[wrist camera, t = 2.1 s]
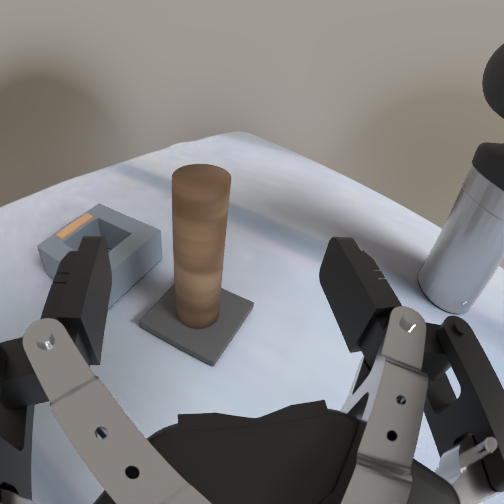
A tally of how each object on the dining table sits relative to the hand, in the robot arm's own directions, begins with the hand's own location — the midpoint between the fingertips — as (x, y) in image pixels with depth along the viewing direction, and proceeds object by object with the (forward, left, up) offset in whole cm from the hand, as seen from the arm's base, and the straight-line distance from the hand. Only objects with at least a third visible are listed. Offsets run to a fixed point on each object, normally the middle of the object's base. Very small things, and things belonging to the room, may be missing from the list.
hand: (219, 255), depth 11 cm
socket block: (-9, -19, -17) cm, 28 cm away
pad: (-9, -6, -17) cm, 21 cm away
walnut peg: (-9, -6, -17) cm, 20 cm away
